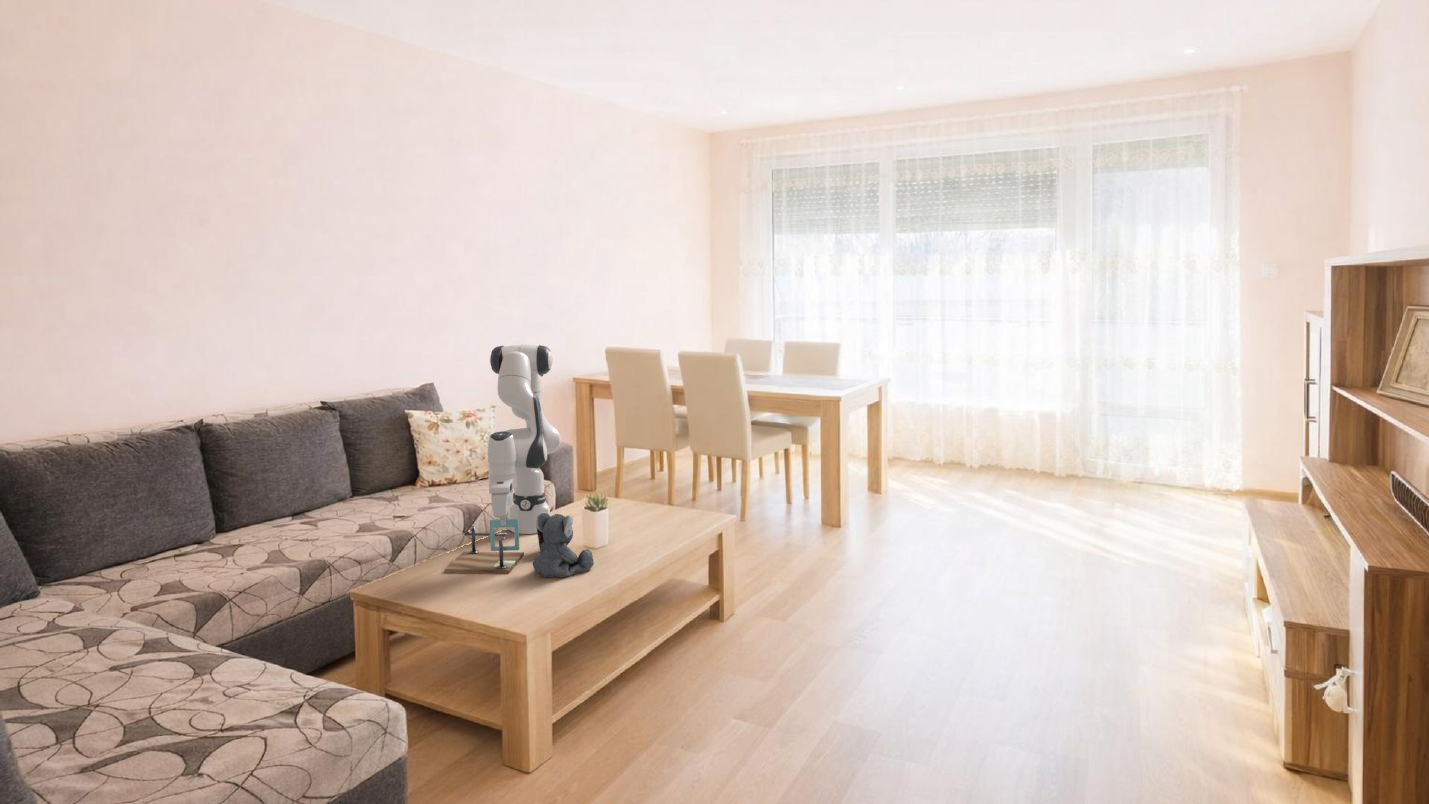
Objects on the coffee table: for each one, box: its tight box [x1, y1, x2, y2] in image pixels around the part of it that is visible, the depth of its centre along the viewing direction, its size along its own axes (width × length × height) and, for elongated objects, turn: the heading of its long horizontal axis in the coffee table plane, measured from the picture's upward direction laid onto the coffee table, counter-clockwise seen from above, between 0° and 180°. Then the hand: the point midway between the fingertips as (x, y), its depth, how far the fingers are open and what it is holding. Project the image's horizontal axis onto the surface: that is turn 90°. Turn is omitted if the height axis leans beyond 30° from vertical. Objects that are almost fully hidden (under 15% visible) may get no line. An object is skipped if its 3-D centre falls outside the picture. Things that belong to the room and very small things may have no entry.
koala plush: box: [532, 512, 595, 579], centre depth 276 cm, size 17×18×20 cm
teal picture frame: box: [489, 518, 520, 552], centre depth 280 cm, size 1×9×10 cm, turn 96°
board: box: [444, 551, 525, 575], centre depth 285 cm, size 18×21×1 cm
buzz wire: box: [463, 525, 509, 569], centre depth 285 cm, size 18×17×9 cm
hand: (504, 523), depth 280 cm, fingers closed on teal picture frame, 1 cm apart
